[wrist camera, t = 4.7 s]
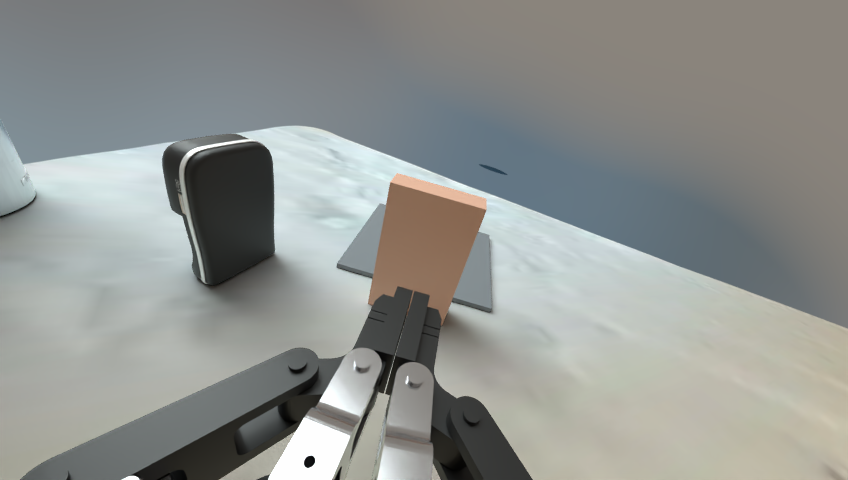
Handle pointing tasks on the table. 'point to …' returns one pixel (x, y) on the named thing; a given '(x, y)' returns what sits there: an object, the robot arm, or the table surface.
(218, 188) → the battery charger
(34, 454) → the table surface
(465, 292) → the mat
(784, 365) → the table surface
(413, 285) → the tile
